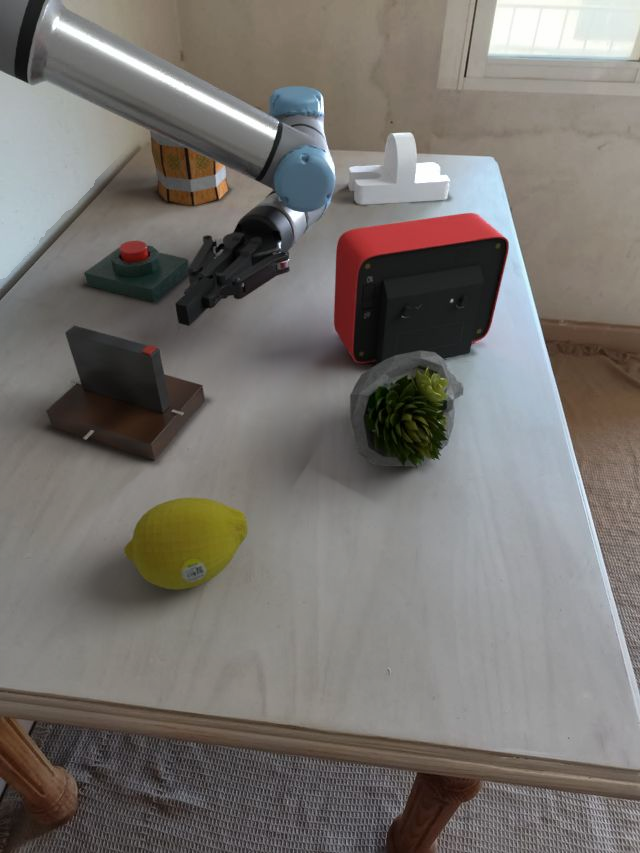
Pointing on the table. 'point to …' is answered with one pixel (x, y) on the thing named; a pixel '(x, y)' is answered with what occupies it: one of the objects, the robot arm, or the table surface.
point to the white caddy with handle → (398, 176)
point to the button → (134, 251)
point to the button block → (138, 274)
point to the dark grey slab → (119, 368)
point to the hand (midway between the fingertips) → (182, 314)
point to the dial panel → (126, 417)
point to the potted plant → (404, 409)
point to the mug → (186, 173)
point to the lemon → (185, 542)
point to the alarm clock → (417, 286)
